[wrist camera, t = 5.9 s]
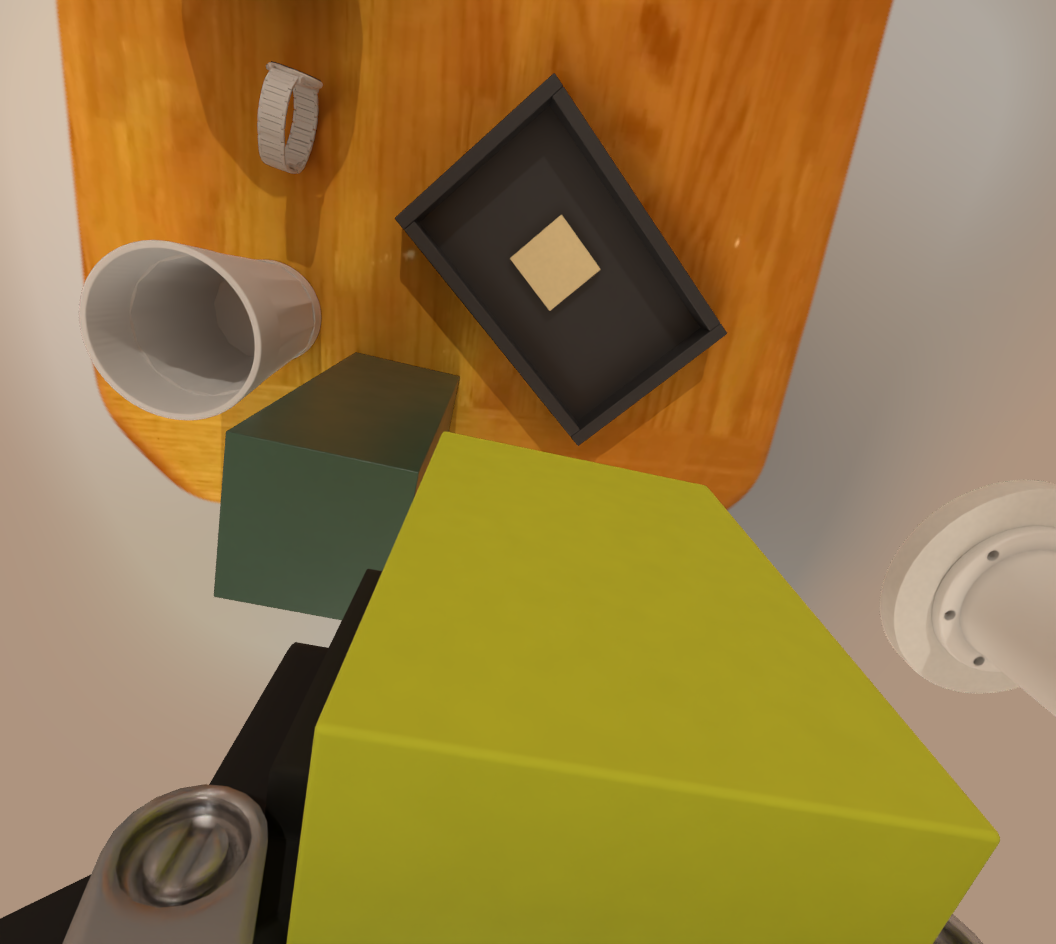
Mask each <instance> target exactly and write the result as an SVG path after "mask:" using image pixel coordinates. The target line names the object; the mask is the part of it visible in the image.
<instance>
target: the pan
mask: <svg viewBox="0 0 1056 944" xmlns="http://www.w3.org/2000/svg"><path fill="white" fill-rule="evenodd" d="M560 215H562V216H563V217H564V218H565V220H566V221H567V223H568V224H569V225H570V227H571V228H572V230H573V231H574V232H575V234H576V235H577V237H578V238H579V239H580V241H581V242H582V244H583V245H584V246H585V248H586V249H587V251H588V252H589V253H590V255H591V256H592V258H593V259H594V261H595V262H596V263H597V265H598V266H599V268H600V271H598V272H597V273H596V274H595V275H593V276H592V277H591V278H590V279H589V280H587V281H586V282H585V283H584V284H582V285H581V286H580V287H579V288H578V289H576V290H575V291H574V292H573V293H571V294H570V295H569V296H568V297H567V298H565V299H564V300H563V301H562V302H560V303H559V304H558V305H557V306H556V307H554V308H553V309H552V310H551V311H549V310H548V308H547V307H546V306H545V304H544V303H543V302H542V300H541V299H540V298H539V296H538V295H537V294H536V292H535V291H534V290H533V289H532V287H531V286H530V285H529V283H528V282H527V281H526V279H525V278H524V277H523V275H522V274H521V273H520V271H519V270H518V269H517V267H516V266H515V265H514V263H513V262H512V261H511V260H510V258H511V257H512V256H513V255H514V254H515V253H517V252H518V251H519V250H520V249H521V248H523V247H524V246H525V245H526V244H527V243H528V242H530V241H531V240H532V239H533V238H534V237H535V236H537V235H538V234H539V233H540V232H541V231H542V230H544V229H545V228H546V227H547V226H548V225H550V224H551V223H552V222H553V221H554V220H555V219H557V218H558V217H559V216H560ZM395 219H396V221H397V222H398V223H399V224H400V226H401V227H402V228H403V229H404V230H405V232H406V233H407V234H408V236H409V237H410V238H411V239H412V241H413V242H414V243H415V244H416V246H417V247H418V248H419V249H420V250H421V252H422V253H423V254H424V255H425V257H426V258H427V259H428V260H429V262H430V263H431V264H432V265H433V267H434V268H435V269H436V270H437V272H438V273H439V274H440V275H441V277H442V278H443V279H444V280H445V282H446V283H447V284H448V285H449V286H450V288H451V289H452V290H453V291H454V293H455V294H456V295H457V296H458V298H459V299H460V300H461V301H462V303H463V304H464V305H465V306H466V308H467V309H468V310H469V311H470V313H471V314H472V315H473V316H474V318H475V319H476V320H477V321H478V322H479V324H480V325H481V326H482V327H483V329H484V330H485V331H486V332H487V334H488V335H489V336H490V337H491V339H492V340H493V341H494V342H495V344H496V345H497V346H498V347H499V349H500V350H501V351H502V352H503V354H504V355H505V356H506V357H507V358H508V360H509V361H510V362H511V363H512V365H513V366H514V367H515V368H516V370H517V371H518V372H519V373H520V375H521V376H522V377H523V378H524V380H525V381H526V382H527V383H528V385H529V386H530V387H531V388H532V390H533V391H534V392H535V393H536V394H537V396H538V397H539V398H540V399H541V401H542V402H543V403H544V404H545V406H546V407H547V408H548V409H549V411H550V412H551V413H552V414H553V416H554V417H555V418H556V419H557V421H558V422H559V423H560V424H561V426H562V427H563V428H564V429H565V430H566V432H567V433H568V434H569V435H570V436H571V438H572V439H573V440H574V442H575V443H576V444H577V445H578V446H579V445H580V444H581V443H583V442H584V441H585V440H587V439H588V438H589V437H591V436H592V435H593V434H595V433H596V432H597V431H599V430H600V429H601V428H603V427H604V426H605V425H607V424H608V423H609V422H611V421H612V420H613V419H615V418H616V417H617V416H619V415H620V414H621V413H623V412H624V411H625V410H627V409H628V408H629V407H631V406H632V405H633V404H634V403H636V402H637V401H638V400H640V399H641V398H642V397H644V396H645V395H646V394H648V393H649V392H650V391H652V390H653V389H654V388H656V387H657V386H658V385H660V384H661V383H662V382H664V381H665V380H666V379H668V378H669V377H670V376H672V375H673V374H674V373H676V372H677V371H678V370H680V369H681V368H682V367H684V366H685V365H686V364H688V363H689V362H690V361H692V360H693V359H694V358H696V357H697V356H698V355H700V354H701V353H702V352H704V351H705V350H706V349H708V348H709V347H710V346H712V345H713V344H714V343H716V342H717V341H718V340H719V339H721V338H722V337H723V336H725V335H726V334H727V332H726V331H725V329H724V328H723V326H722V325H721V324H720V322H719V320H718V319H717V317H716V316H715V314H714V313H713V311H712V310H711V308H710V307H709V305H708V304H707V302H706V301H705V299H704V298H703V296H702V295H701V293H700V292H699V290H698V289H697V287H696V286H695V284H694V282H693V281H692V279H691V278H690V276H689V275H688V273H687V272H686V270H685V269H684V267H683V266H682V264H681V263H680V261H679V260H678V258H677V257H676V255H675V254H674V252H673V251H672V249H671V248H670V246H669V245H668V243H667V242H666V240H665V239H664V237H663V236H662V234H661V233H660V231H659V230H658V228H657V227H656V225H655V224H654V222H653V221H652V219H651V218H650V216H649V215H648V213H647V212H646V210H645V209H644V207H643V206H642V204H641V203H640V201H639V200H638V198H637V197H636V195H635V194H634V192H633V191H632V189H631V188H630V186H629V185H628V183H627V182H626V180H625V179H624V177H623V175H622V174H621V172H620V171H619V169H618V168H617V166H616V165H615V163H614V162H613V160H612V159H611V157H610V156H609V154H608V153H607V151H606V150H605V148H604V147H603V145H602V144H601V142H600V141H599V139H598V138H597V136H596V135H595V133H594V132H593V130H592V129H591V127H590V126H589V124H588V123H587V121H586V120H585V118H584V117H583V115H582V114H581V112H580V111H579V109H578V108H577V106H576V105H575V103H574V102H573V100H572V99H571V97H570V96H569V94H568V93H567V91H566V90H565V88H564V87H563V85H562V84H561V82H560V80H559V79H558V77H557V76H556V74H555V73H553V74H552V75H551V76H550V77H549V78H548V79H547V80H546V81H545V82H543V83H542V84H541V85H540V86H539V87H538V88H537V89H536V90H535V91H534V92H533V93H531V94H530V95H529V96H528V97H527V98H526V99H525V100H524V101H523V102H522V103H520V104H519V105H518V106H517V107H516V108H515V109H514V110H513V111H512V112H511V113H509V114H508V115H507V116H506V117H505V118H504V119H503V120H502V121H501V122H500V123H498V124H497V125H496V126H495V127H494V128H493V129H492V130H491V131H490V132H489V133H488V134H486V135H485V136H484V137H483V138H482V139H481V140H480V141H479V142H478V143H477V144H475V145H474V146H473V147H472V148H471V149H470V150H469V151H468V152H467V153H466V154H464V155H463V156H462V157H461V158H460V159H459V160H458V161H457V162H456V163H455V164H453V165H452V166H451V167H450V168H449V169H448V170H447V171H446V172H445V173H444V174H442V175H441V176H440V177H439V178H438V179H437V180H436V181H435V182H434V183H433V184H432V185H430V186H429V187H428V188H427V189H426V190H425V191H424V192H423V193H422V194H421V195H419V196H418V197H417V198H416V199H415V200H414V201H413V202H412V203H411V204H410V205H408V206H407V207H406V208H405V209H404V210H403V211H402V212H401V213H400V214H399V215H397V216H396V217H395Z"/></svg>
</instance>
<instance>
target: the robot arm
mask: <svg viewBox="0 0 1056 944" xmlns="http://www.w3.org/2000/svg"><path fill="white" fill-rule="evenodd" d="M381 573H382V571H379V570H373V569H367V570H366V572H365V574H364V576H363V578H362V580H361V582H360V584H359V586H358V588H357V590H356V592H355V595H354V597H353V599H352V601H351V603H350V605H349V607H348V609H347V611H346V613H345V615H344V617H343V619H342V621H341V624H340V626H339V628H338V630H337V632H336V634H335V636H334V638H333V640H332V642H331V644H330V646H329V648H326V647H320V646H314V645H309V644H303V643H297V642H295V643H294V644H292V645H291V647H290V648H289V650H288V651H287V653H286V654H285V656H284V658H283V660H282V661H281V663H280V664H279V666H278V668H277V670H276V671H275V673H274V675H273V676H272V678H271V680H270V682H269V683H268V685H267V687H266V688H265V690H264V692H263V693H262V695H261V697H260V699H259V700H258V702H257V704H256V705H255V707H254V709H253V711H252V712H251V714H250V716H249V717H248V719H247V721H246V723H245V724H244V726H243V728H242V729H241V731H240V733H239V735H238V736H237V738H236V740H235V741H234V743H233V745H232V747H231V748H230V750H229V752H228V754H227V755H226V757H225V758H224V760H223V762H222V764H221V766H220V767H219V769H218V770H217V772H216V774H215V776H214V777H213V779H212V781H211V783H210V784H209V785H198V786H192V787H186V788H180V789H178V790H175V791H172V792H170V793H167V794H164V795H162V796H159V797H156V798H155V799H153V800H152V801H150V802H148V803H147V804H145V805H144V806H142V807H140V808H139V809H137V810H136V811H134V812H133V813H132V814H131V815H130V816H129V817H128V818H127V819H126V820H125V821H124V822H123V823H121V825H119V826H118V827H117V828H116V829H115V831H113V833H112V835H111V837H110V838H109V840H108V841H107V843H106V845H105V846H104V848H103V850H102V851H101V853H100V855H99V857H98V860H97V862H96V865H95V867H94V870H93V872H92V874H91V875H89V876H87V877H85V878H83V879H81V880H79V881H77V882H75V883H73V884H71V885H69V886H66V887H64V888H63V889H60V890H58V891H56V892H54V893H52V894H50V895H48V896H46V897H44V898H42V899H40V900H38V901H36V902H34V903H31V904H30V905H27V906H25V907H23V908H21V909H19V910H17V911H15V912H13V913H11V914H9V915H7V916H5V917H3V918H1V919H0V944H286V943H287V935H288V928H289V920H290V912H291V905H292V897H293V890H294V882H295V875H296V867H297V860H298V852H299V844H300V837H301V829H302V822H303V814H304V807H305V799H306V792H307V784H308V776H309V769H310V761H311V754H312V746H313V739H314V731H315V726H316V724H317V722H318V719H319V717H320V715H321V712H322V710H323V708H324V705H325V703H326V701H327V698H328V696H329V694H330V691H331V689H332V687H333V685H334V682H335V680H336V678H337V675H338V673H339V671H340V668H341V666H342V664H343V661H344V659H345V657H346V654H347V652H348V650H349V648H350V645H351V643H352V641H353V638H354V636H355V634H356V631H357V629H358V627H359V624H360V622H361V620H362V617H363V615H364V613H365V610H366V608H367V606H368V604H369V601H370V599H371V597H372V594H373V592H374V590H375V587H376V585H377V583H378V580H379V578H380V576H381ZM932 624H933V629H934V632H935V635H936V637H937V639H938V641H939V643H940V644H941V645H942V646H943V647H944V648H945V649H946V651H947V652H949V653H950V654H951V655H952V656H953V657H954V658H956V659H957V660H958V661H959V662H961V663H963V664H965V665H967V666H969V667H971V668H975V669H978V670H981V671H990V672H1003V673H1004V674H1005V675H1006V676H1008V677H1009V678H1010V679H1011V680H1012V681H1014V682H1015V683H1016V684H1017V685H1018V686H1020V687H1021V688H1022V689H1023V690H1024V691H1026V692H1027V693H1028V694H1029V695H1030V696H1031V697H1033V698H1034V699H1035V700H1036V701H1037V702H1039V703H1040V704H1041V705H1042V706H1043V707H1044V708H1046V709H1047V710H1048V711H1049V712H1050V713H1052V714H1053V715H1054V716H1055V717H1056V528H1054V527H1046V526H1025V527H1020V528H1015V529H1011V530H1007V531H1004V532H1002V533H999V534H996V535H994V536H991V537H990V538H988V539H986V540H984V541H982V542H981V543H979V544H977V545H976V546H974V547H973V548H972V549H970V550H969V551H968V552H967V553H965V554H964V555H963V556H962V557H961V558H960V559H959V560H958V561H957V562H956V563H955V564H954V565H953V566H952V567H951V568H950V570H949V571H948V573H947V574H946V575H945V577H944V578H943V580H942V582H941V584H940V586H939V588H938V590H937V592H936V595H935V598H934V602H933V606H932ZM933 944H983V943H982V942H981V941H980V939H979V938H978V937H977V936H976V935H975V934H974V933H973V932H972V931H971V930H970V929H969V928H968V927H966V926H965V924H963V923H962V922H961V921H960V920H959V919H958V918H957V917H956V916H954V915H953V914H952V915H951V917H950V918H949V920H948V921H947V923H946V924H945V926H944V927H943V929H942V930H941V932H940V934H939V935H938V937H937V938H936V940H935V941H934V943H933Z"/></svg>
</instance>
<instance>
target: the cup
mask: <svg viewBox="0 0 1056 944" xmlns="http://www.w3.org/2000/svg"><path fill="white" fill-rule="evenodd" d="M79 323H80V330H81V334H82V338H83V341H84V344H85V347H86V350H87V352H88V354H89V356H90V358H91V360H92V362H93V364H94V365H95V367H96V368H97V370H98V371H99V373H100V374H101V375H102V377H103V378H104V379H105V380H106V381H107V382H108V384H109V385H110V386H111V387H112V388H113V389H114V390H115V391H117V392H118V393H119V394H120V395H121V396H123V397H124V398H125V399H127V400H128V401H129V402H131V403H133V404H134V405H136V406H138V407H139V408H141V409H143V410H146V411H148V412H150V413H153V414H155V415H158V416H162V417H166V418H170V419H177V420H199V419H205V418H209V417H213V416H216V415H218V414H221V413H223V412H225V411H227V410H228V409H230V408H231V407H233V406H234V405H236V404H237V403H238V402H239V401H240V400H242V399H243V398H244V397H245V396H247V395H248V394H249V393H250V392H251V391H253V390H254V389H255V388H256V387H258V386H259V385H260V384H261V383H262V382H263V381H264V380H265V379H267V378H268V377H269V376H271V375H272V374H273V373H275V372H276V371H277V370H279V369H280V368H281V367H283V366H284V365H285V364H287V363H288V362H289V361H291V360H292V359H294V358H297V357H299V356H300V355H302V354H304V353H305V352H306V351H307V350H308V349H309V348H310V347H311V346H312V345H313V343H314V342H315V340H316V338H317V336H318V334H319V330H320V326H321V309H320V305H319V301H318V298H317V296H316V294H315V292H314V290H313V288H312V287H311V285H310V284H309V283H308V281H307V280H306V279H305V278H304V277H303V276H302V275H301V274H300V273H299V272H297V271H296V270H295V269H293V268H291V267H290V266H288V265H286V264H283V263H280V262H277V261H273V260H254V259H249V258H243V257H238V256H232V255H227V254H221V253H217V252H214V251H210V250H206V249H201V248H197V247H192V246H188V245H183V244H179V243H174V242H169V241H161V240H145V241H138V242H133V243H129V244H126V245H123V246H121V247H119V248H117V249H115V250H113V251H111V252H110V253H108V254H107V255H106V256H105V257H103V258H102V259H101V260H100V261H99V262H98V263H97V264H96V265H95V267H94V268H93V269H92V271H91V272H90V274H89V275H88V277H87V279H86V281H85V284H84V286H83V289H82V292H81V297H80V304H79Z"/></svg>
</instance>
